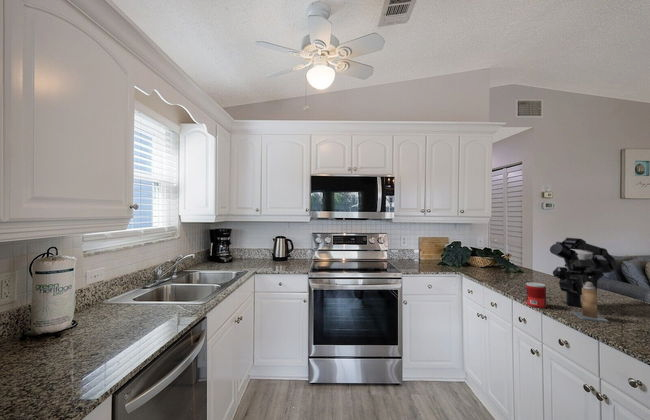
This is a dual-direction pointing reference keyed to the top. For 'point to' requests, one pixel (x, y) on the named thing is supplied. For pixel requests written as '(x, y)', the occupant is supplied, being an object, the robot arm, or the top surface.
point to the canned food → (536, 295)
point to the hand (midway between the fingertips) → (584, 289)
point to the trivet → (599, 318)
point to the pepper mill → (589, 300)
